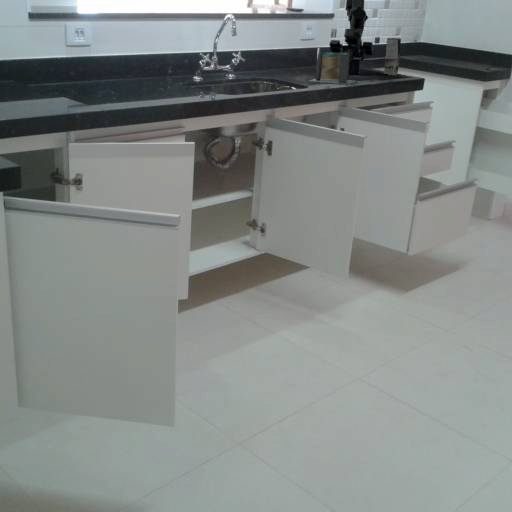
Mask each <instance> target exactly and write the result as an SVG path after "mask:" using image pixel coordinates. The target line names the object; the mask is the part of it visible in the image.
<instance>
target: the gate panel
mask: <svg viewBox="0 0 512 512" xmlns="http://www.w3.org/2000/svg"><path fill="white" fill-rule="evenodd" d="M340 55H349V57H348V72H347V80H349V75H350V74H349V60H350V53H343V52H340V53H332V52H322V61H321V79H327V80H339V69H340Z"/></svg>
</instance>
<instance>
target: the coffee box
mask: <svg viewBox="0 0 512 512" xmlns="http://www.w3.org/2000/svg"><path fill="white" fill-rule="evenodd" d="M401 43H402V38H400V37H388V38H387V40H386V46H385V49H386V50H385V56H384V57H385V59H384V60H385V61H384V69H383V70H384V71H383V75H384V74H388V75H387V76H398V73H399V72H398V71H399V64H400V56H401V55H400V54H401V45H402V44H401Z"/></svg>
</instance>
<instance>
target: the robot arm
mask: <svg viewBox="0 0 512 512" xmlns="http://www.w3.org/2000/svg"><path fill="white" fill-rule="evenodd" d="M345 11H346V15H347V17H348V22H349V28H345V30H344V35H343V37H344V42H342V44H341V40H339V39H338V40H337V39H331V40H330V41H329V50H330V53H350V60H349V75H350V76H351V75H362V72H360V64H361V63H360V62H363V61H364V59H365V56H373V54H374V49H375V48H374V43H373V42H372V41H363V40H362V37H363V33H364V29H365V23H366V22H367V20H368V18H369V16H368V14H367V12H366V10H365V0H346V2H345Z"/></svg>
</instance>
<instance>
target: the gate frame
mask: <svg viewBox="0 0 512 512" xmlns="http://www.w3.org/2000/svg"><path fill="white" fill-rule="evenodd" d="M322 55H323V47H317V51H316V70H315V73H316V74H315V78H316V81H320V80H321V73H322ZM348 57H349V55H340V69H339V83H345V84H346V83H347V72H348Z"/></svg>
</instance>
